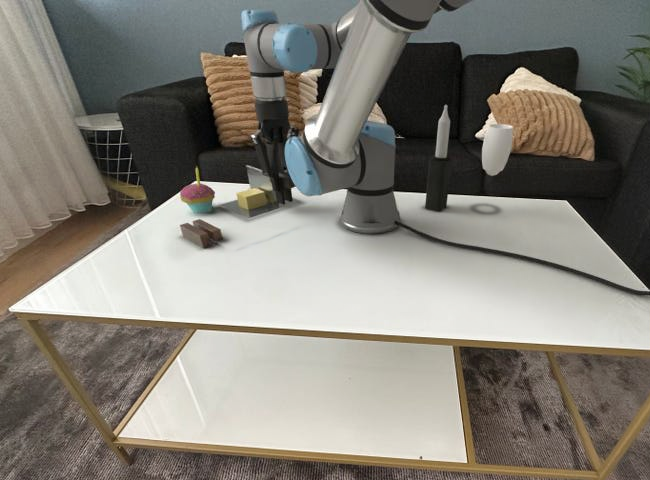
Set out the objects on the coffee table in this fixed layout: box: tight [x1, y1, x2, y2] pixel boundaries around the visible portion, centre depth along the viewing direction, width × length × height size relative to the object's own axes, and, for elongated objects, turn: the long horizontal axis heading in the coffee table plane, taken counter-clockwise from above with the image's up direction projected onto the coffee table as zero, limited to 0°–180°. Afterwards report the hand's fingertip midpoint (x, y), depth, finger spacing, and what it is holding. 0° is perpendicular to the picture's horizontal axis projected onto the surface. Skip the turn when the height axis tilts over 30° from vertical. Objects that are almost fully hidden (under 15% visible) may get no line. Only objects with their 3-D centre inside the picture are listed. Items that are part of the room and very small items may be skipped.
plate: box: [218, 197, 302, 219], centre depth 114 cm, size 14×18×1 cm
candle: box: [424, 104, 453, 212], centre depth 107 cm, size 5×5×25 cm
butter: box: [235, 188, 267, 210], centre depth 111 cm, size 4×6×4 cm
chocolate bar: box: [179, 218, 223, 249], centre depth 95 cm, size 9×5×3 cm, turn 49°
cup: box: [481, 123, 514, 177], centre depth 108 cm, size 7×7×21 cm
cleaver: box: [245, 164, 296, 201], centre depth 109 cm, size 19×2×8 cm, turn 49°
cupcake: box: [179, 167, 216, 214], centre depth 106 cm, size 9×8×12 cm
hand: (284, 201), depth 108 cm, fingers closed on cleaver, 2 cm apart
